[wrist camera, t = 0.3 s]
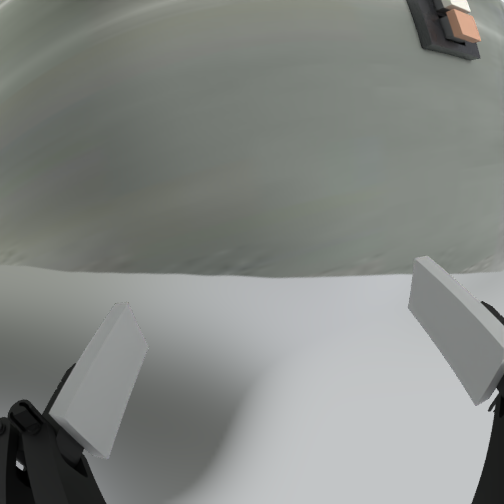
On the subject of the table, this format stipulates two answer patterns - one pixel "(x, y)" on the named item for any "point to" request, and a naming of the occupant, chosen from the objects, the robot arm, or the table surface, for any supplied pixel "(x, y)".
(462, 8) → the cream key
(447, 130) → the table surface
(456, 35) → the tan cube
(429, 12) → the keypad base
